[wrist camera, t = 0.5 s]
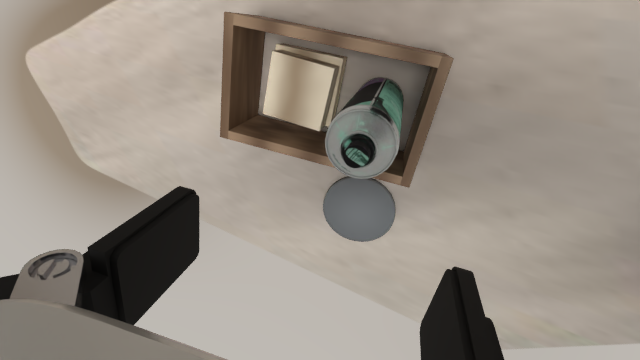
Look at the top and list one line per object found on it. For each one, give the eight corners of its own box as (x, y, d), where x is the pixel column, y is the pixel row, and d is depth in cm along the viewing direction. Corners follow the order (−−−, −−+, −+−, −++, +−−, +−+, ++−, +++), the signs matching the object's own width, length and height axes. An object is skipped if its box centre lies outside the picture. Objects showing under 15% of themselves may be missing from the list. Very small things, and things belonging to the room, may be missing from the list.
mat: (378, 165, 42) (377, 168, 41) (405, 227, 45) (405, 231, 44) (313, 188, 46) (311, 191, 45) (342, 244, 49) (341, 248, 48)
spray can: (361, 74, 38) (319, 109, 20) (407, 80, 37) (406, 123, 19) (354, 119, 40) (311, 185, 23) (398, 126, 39) (388, 201, 22)
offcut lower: (347, 56, 38) (343, 58, 35) (334, 121, 42) (329, 127, 39) (284, 43, 39) (275, 44, 36) (277, 107, 43) (268, 111, 40)
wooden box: (444, 53, 35) (453, 58, 28) (409, 160, 41) (409, 187, 34) (258, 15, 38) (224, 11, 31) (250, 120, 44) (220, 136, 37)
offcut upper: (340, 66, 36) (334, 68, 33) (325, 124, 39) (319, 131, 36) (282, 49, 37) (272, 50, 34) (272, 108, 40) (262, 113, 37)
